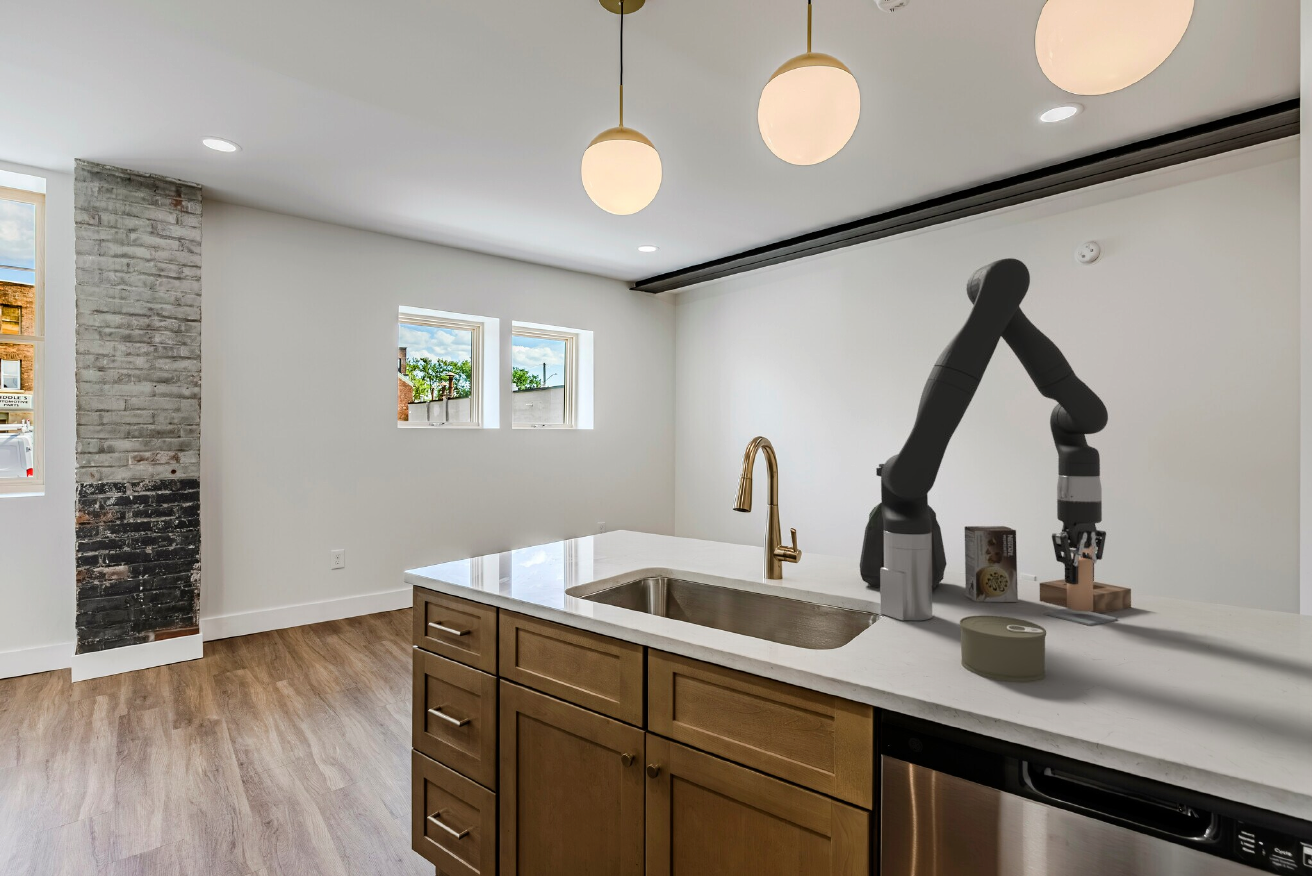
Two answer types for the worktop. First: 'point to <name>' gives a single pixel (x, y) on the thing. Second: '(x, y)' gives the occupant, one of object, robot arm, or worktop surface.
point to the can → (1003, 648)
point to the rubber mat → (1081, 616)
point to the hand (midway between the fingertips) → (1079, 582)
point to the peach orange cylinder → (1082, 588)
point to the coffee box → (991, 564)
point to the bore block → (1103, 595)
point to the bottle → (875, 547)
